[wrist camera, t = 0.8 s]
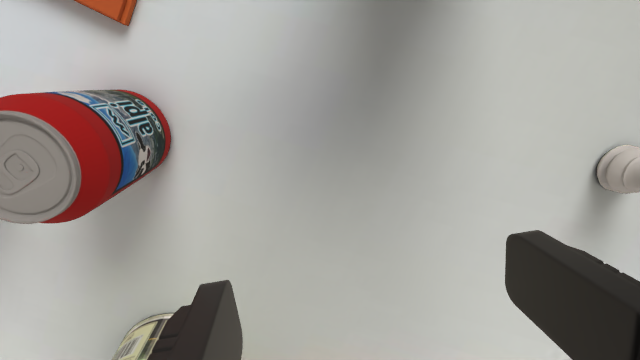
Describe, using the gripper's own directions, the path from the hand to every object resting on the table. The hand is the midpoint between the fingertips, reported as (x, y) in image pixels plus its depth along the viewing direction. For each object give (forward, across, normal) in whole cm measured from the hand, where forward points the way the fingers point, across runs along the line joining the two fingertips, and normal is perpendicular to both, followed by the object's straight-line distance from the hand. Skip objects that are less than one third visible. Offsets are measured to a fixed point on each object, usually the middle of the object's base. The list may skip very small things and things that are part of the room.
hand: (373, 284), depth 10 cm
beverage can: (+20, +14, -4) cm, 25 cm away
